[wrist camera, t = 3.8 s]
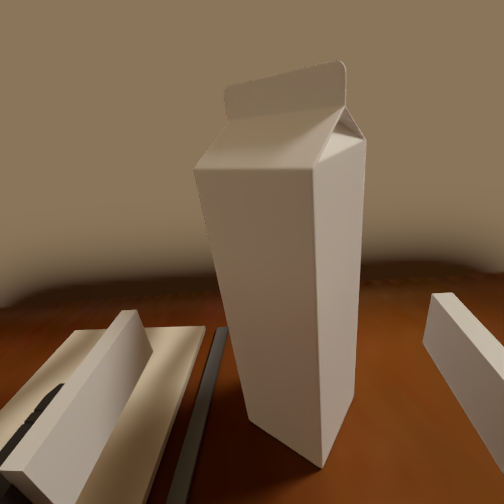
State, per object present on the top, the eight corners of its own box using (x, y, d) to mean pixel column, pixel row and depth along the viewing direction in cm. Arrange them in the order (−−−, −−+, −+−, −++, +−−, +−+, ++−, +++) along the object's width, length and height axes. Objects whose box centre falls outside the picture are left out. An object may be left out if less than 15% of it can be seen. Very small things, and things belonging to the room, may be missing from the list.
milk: (287, 366, 25) (258, 86, 15) (355, 397, 22) (372, 60, 12) (247, 423, 21) (172, 88, 11) (322, 474, 17) (309, 50, 8)
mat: (228, 329, 30) (227, 325, 30) (169, 572, 14) (166, 568, 14) (77, 334, 33) (75, 330, 33) (-113, 543, 17) (-121, 539, 17)
